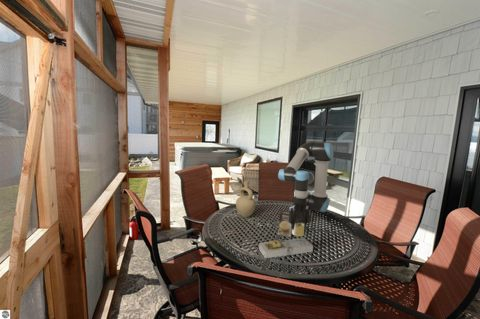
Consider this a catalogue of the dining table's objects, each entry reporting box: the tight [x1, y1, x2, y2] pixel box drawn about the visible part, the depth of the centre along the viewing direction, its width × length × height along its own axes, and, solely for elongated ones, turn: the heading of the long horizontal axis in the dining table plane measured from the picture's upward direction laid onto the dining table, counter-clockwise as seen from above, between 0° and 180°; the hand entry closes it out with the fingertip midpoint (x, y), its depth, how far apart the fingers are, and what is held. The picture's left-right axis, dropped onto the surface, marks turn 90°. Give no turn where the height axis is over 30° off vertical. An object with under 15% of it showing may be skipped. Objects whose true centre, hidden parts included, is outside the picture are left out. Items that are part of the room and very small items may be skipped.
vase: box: [235, 180, 257, 218], centre depth 189 cm, size 17×17×30 cm
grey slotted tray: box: [258, 237, 314, 259], centre depth 137 cm, size 31×10×4 cm, turn 107°
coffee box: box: [277, 209, 293, 238], centre depth 158 cm, size 9×6×16 cm
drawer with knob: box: [268, 240, 281, 249], centre depth 135 cm, size 5×5×6 cm
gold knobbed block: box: [294, 222, 305, 237], centre depth 138 cm, size 5×5×6 cm
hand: (297, 233), depth 138 cm, fingers closed on gold knobbed block, 5 cm apart
